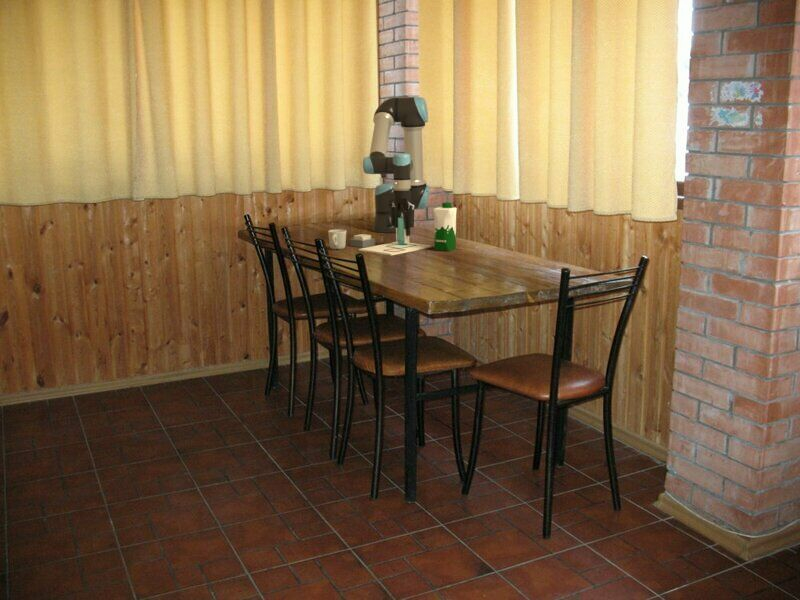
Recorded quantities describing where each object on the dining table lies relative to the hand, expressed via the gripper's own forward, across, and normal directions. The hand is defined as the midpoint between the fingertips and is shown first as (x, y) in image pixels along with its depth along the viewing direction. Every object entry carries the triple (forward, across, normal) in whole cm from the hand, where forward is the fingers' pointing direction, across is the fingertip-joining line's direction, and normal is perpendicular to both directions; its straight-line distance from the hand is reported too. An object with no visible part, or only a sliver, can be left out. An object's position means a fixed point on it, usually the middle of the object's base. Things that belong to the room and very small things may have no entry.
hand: (402, 242), depth 385 cm
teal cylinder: (+1, 0, 0) cm, 1 cm away
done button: (0, -16, -9) cm, 18 cm away
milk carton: (+2, +20, +5) cm, 21 cm away
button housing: (+2, -16, -9) cm, 18 cm away
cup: (+2, -18, -23) cm, 29 cm away
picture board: (+2, +2, -7) cm, 8 cm away
